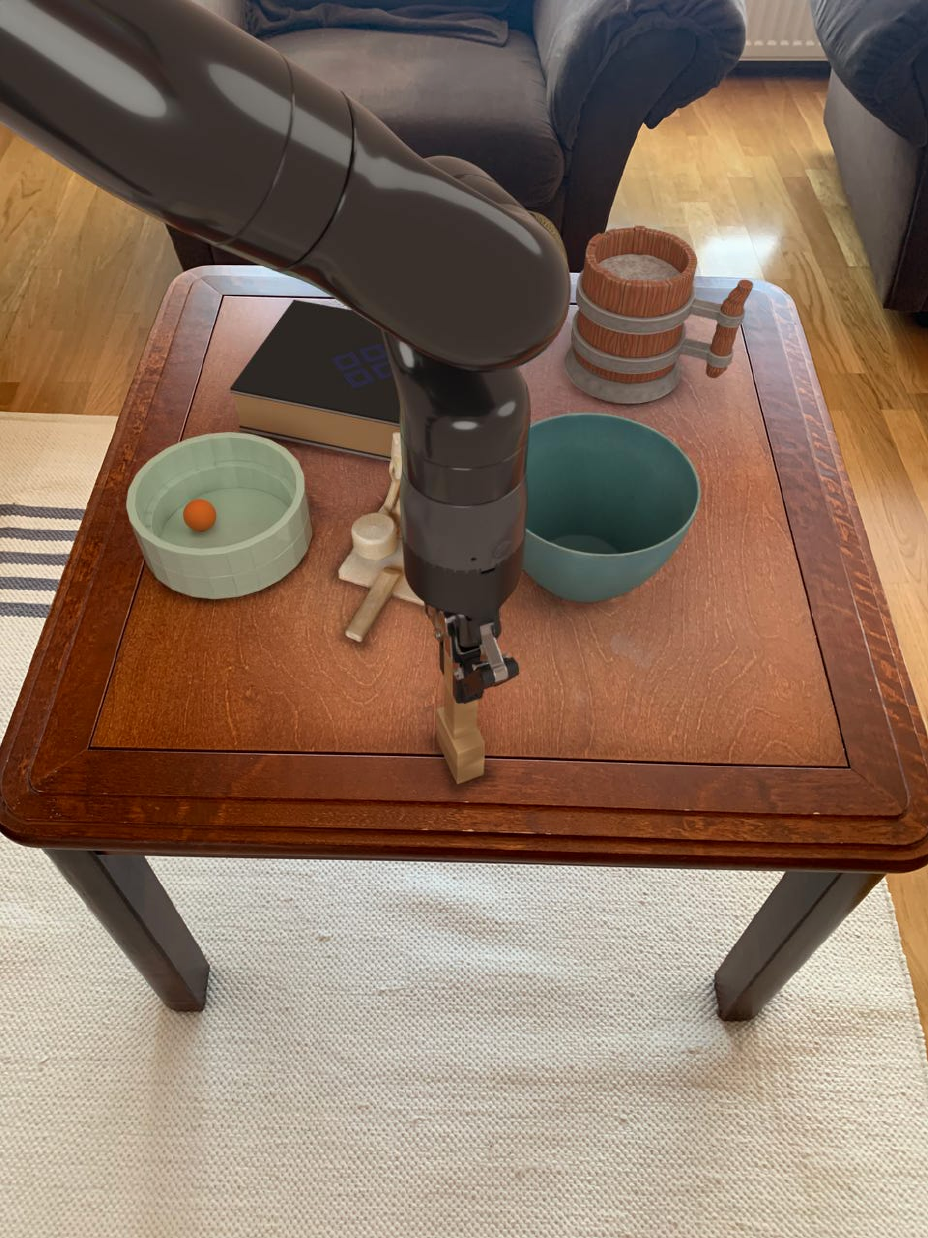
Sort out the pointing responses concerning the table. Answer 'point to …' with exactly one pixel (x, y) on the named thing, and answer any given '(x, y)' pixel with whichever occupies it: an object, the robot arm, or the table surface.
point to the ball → (199, 515)
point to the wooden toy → (378, 555)
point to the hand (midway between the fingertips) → (461, 683)
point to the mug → (643, 317)
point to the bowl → (222, 514)
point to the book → (321, 383)
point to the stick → (459, 732)
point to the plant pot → (603, 504)
